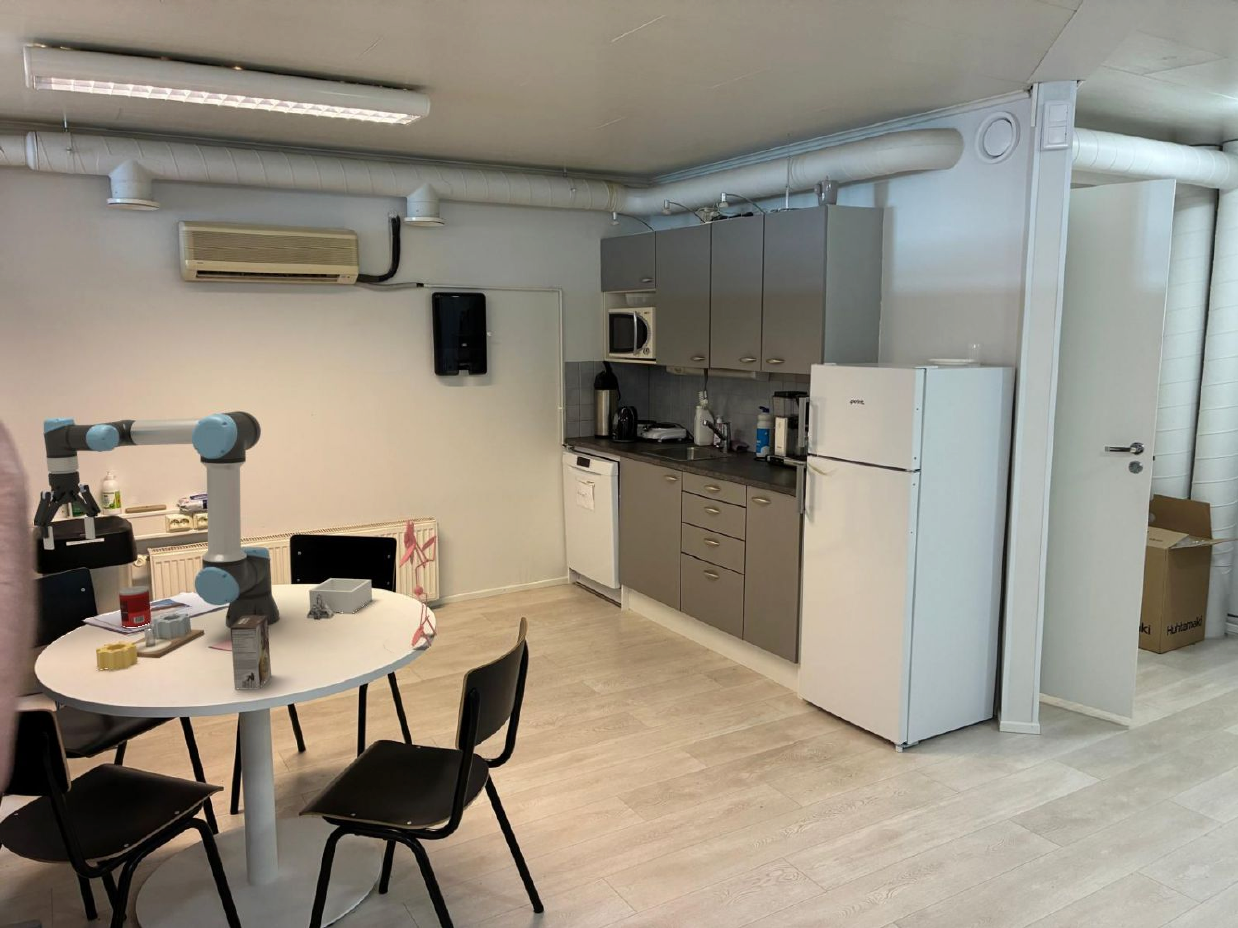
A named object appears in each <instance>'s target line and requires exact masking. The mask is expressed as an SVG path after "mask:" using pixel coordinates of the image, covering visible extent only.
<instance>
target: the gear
mask: <svg viewBox="0 0 1238 928" xmlns="http://www.w3.org/2000/svg"><path fill="white" fill-rule="evenodd" d="M153 625H154V631H155V636H156V638H157V639H167V640H171V639H172V638H177V637H180V638H182V637H185V635H186V634H190V633H191V630H192V627H191V616H190V615H189V613H187V612H184V613H178V612H170V613H169V614H161V615H160V617H155V618H154V619H153Z"/></svg>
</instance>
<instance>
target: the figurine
mask: <svg viewBox="0 0 1238 928" xmlns="http://www.w3.org/2000/svg"><path fill="white" fill-rule="evenodd" d="M405 529H406V530H405V531H404V534H403V543H404V547H405V549H406V550H405V552H404V554H403V555H402V557H401V559H400V563H399V565H398V568H402V566H404V564H405V563H406V562H408V561H409V562H410V565H411V566H413V564H414V559H415V552H416V554H417V556H418V559H419V562H420V564H419V565H417V566H416V567H415V568H414V574H415V587H414V589H413V593H414V595H415V596H417V598H418V601H419V602H420V604H421V615H420V622H419V626H418V628H417V629H416V631H415V632H414V635H413V637H412V640H411V644H410V645H412V646H413V647H414V646H415V645H416V644H417V643H418V642H419V640H420V639H421V638H422V635H423V637H424V638H425V641H426V642H427V644H428V645H429V643H430V645H429V647H432V645H433V644H432V643H431V642H430V640H429V638H428V636H427V634H426V632H425V631H424V629H425V628H424V627H425V626H424V625H425V623H426V622H427V623H428V625H429V627H430V629H431V631H432V632H433V634H434V635H435V636H438V634H437V631H436V630H435V629H434V627H433V625H432V624H431V622H430V619H429V617H430V615H429V614H427V613H428V612H427V611H428V593H426V592H424V588H423V587H422V586H420V585H418V569H419V568H421V567H422V568H423V569H424V570H425V569H426V566H427V563H429V562H431V563H433V562H435V558H436V543H437V535H436V534H435V535H433V536H432V537H430V538H429V539H428V540H427V541H426V542H425V543H424V544H423V546H422V547H421V546H420V545H419V543H418V541H417V538H416V536H415V526H414V521H411V522H410V519H407V520H406V528H405ZM432 545H433V550H432V553H433V554H432V559H429V558H427V556H426V554H425V553H424V551H426V550H427V549H428V548H429V547H431V546H432ZM419 551H420V552H419ZM420 553H421V554H420ZM421 555H422V557H423V558H424V562H423V559H422V557H421ZM423 594H424V595H425V605H424V603H423V601H422V600H421V599H422V598H421V597H420V596H422V595H423ZM424 607H425V617H424V620H423V615H424V614H423V613H424ZM437 628H439V629H443V627H441V626H440V627H439V626H437Z"/></svg>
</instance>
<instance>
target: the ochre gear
mask: <svg viewBox="0 0 1238 928" xmlns="http://www.w3.org/2000/svg"><path fill="white" fill-rule="evenodd" d="M135 642H136V641H130V642H125V641H124V640H122V641H118V642H115V643H105V644H104V645H103V646H102V647H97V648H96V649H95V653H96V654H95V655H96V662H97V663H96V664H97V665H96V666H97V667H98V670H99V669H104V668H108V669H110V670H115V669H116V670H118V669H117V668H121V669H125V668H126V669H128V667H129V668H130V667H131V666H132V665H136V664H138V663H137V662H138V657H137V649H136V645H135ZM123 667H124V668H123ZM110 670H109V671H110ZM116 670H115V671H116Z"/></svg>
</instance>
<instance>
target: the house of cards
mask: <svg viewBox="0 0 1238 928" xmlns="http://www.w3.org/2000/svg"><path fill="white" fill-rule="evenodd" d="M318 596H320V598H318ZM318 596H317V598H316V602H317V603H315V604H314V605H313V607H312V609H311V610H310V609H309V611H308V613H307V615H306V618H307V619H313V620H316V619H318V620H320V619H330V618H332V617H333V616H334V614H335V613H334V612H332V611H331V609H330V608H329V607H328V606H327V604H323V601H322V598H323V597H322V595H321V594H320V593H319V594H318ZM318 599H321V603H318ZM317 605H319V606H320V607H321V608H319V606H317ZM322 605H324V607H326V608H324V607H323V606H322ZM314 606H315V607H314ZM332 615H333V616H332ZM331 616H332V617H331Z"/></svg>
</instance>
